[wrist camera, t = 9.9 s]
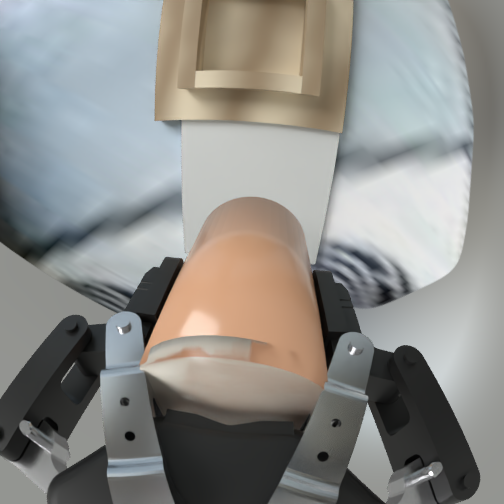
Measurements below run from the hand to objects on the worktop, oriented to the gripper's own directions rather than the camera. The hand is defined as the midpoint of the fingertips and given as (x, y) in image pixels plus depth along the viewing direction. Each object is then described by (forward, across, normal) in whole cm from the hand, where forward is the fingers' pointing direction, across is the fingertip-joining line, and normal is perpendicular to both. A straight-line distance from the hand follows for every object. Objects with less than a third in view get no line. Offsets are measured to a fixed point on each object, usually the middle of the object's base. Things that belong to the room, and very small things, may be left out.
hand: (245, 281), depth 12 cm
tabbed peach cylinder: (+3, 0, +2) cm, 4 cm away
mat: (+12, 0, 0) cm, 12 cm away
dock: (+12, +1, -13) cm, 17 cm away
